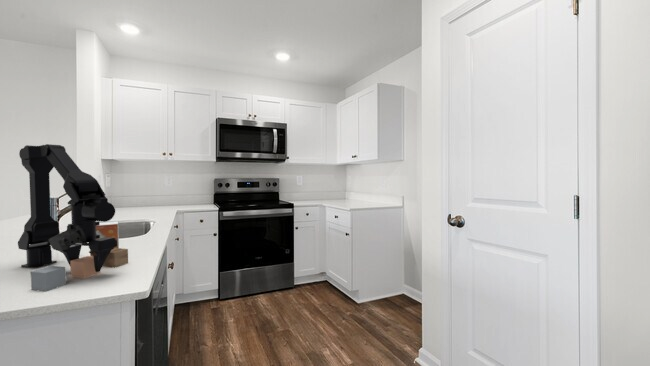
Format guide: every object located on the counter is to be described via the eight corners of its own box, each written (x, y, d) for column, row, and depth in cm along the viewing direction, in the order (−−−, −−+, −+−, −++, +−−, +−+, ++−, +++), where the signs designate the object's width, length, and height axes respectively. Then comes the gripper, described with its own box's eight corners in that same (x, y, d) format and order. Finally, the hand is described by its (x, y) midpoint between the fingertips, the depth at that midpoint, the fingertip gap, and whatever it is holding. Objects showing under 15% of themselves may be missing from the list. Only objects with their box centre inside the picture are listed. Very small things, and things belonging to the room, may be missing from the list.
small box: (90, 263, 103) (89, 225, 102) (92, 259, 108) (90, 223, 108) (119, 259, 107) (118, 223, 107) (119, 255, 113) (118, 221, 112)
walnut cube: (102, 266, 100) (102, 251, 100) (116, 262, 105) (116, 248, 105) (114, 267, 99) (114, 252, 99) (128, 263, 104) (127, 248, 103)
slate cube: (31, 290, 81) (30, 271, 80) (52, 283, 85) (51, 265, 85) (45, 291, 79) (45, 273, 79) (66, 284, 84) (65, 267, 84)
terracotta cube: (71, 277, 90) (70, 260, 90) (87, 271, 95) (87, 256, 95) (84, 278, 89) (83, 261, 89) (100, 272, 94) (99, 257, 94)
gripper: (29, 223, 86) (31, 277, 86) (81, 225, 81) (83, 282, 82) (70, 217, 97) (72, 265, 97) (118, 219, 92) (119, 269, 93)
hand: (85, 270), depth 92 cm, fingers open, 9 cm apart
